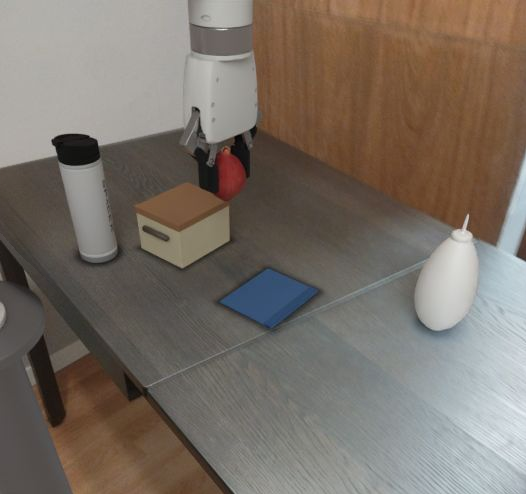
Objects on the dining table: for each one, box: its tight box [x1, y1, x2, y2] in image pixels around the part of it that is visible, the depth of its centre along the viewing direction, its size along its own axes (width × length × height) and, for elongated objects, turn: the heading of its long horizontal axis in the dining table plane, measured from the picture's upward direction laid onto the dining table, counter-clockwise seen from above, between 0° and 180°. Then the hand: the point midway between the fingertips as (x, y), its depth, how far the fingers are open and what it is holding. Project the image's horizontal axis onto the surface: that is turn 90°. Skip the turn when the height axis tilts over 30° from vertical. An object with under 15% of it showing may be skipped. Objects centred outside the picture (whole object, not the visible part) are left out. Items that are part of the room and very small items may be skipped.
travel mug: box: [50, 133, 119, 264], centre depth 85 cm, size 6×7×20 cm
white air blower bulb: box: [413, 213, 480, 332], centre depth 73 cm, size 8×8×18 cm
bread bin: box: [134, 181, 231, 269], centre depth 91 cm, size 13×10×8 cm
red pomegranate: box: [212, 145, 247, 202], centre depth 75 cm, size 6×6×8 cm
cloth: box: [219, 267, 319, 330], centre depth 83 cm, size 12×10×1 cm
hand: (224, 181), depth 76 cm, fingers closed on red pomegranate, 5 cm apart
